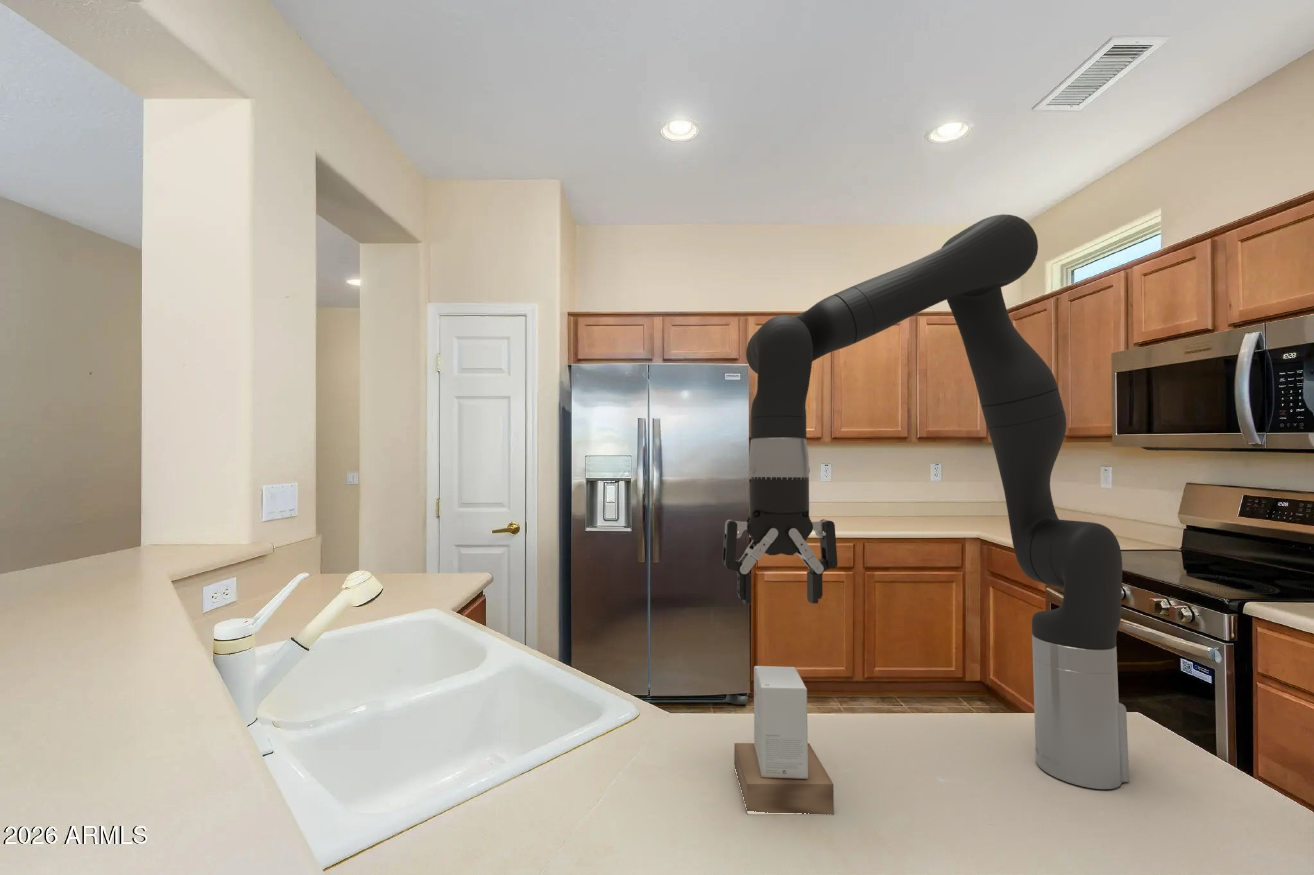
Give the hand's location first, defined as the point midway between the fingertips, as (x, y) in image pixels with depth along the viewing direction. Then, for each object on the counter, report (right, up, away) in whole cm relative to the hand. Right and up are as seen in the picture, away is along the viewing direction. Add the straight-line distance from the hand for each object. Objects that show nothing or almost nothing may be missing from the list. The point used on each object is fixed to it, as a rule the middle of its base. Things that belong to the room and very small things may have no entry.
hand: (779, 602), depth 72 cm
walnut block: (0, -24, -1) cm, 24 cm away
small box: (0, -20, -1) cm, 20 cm away
